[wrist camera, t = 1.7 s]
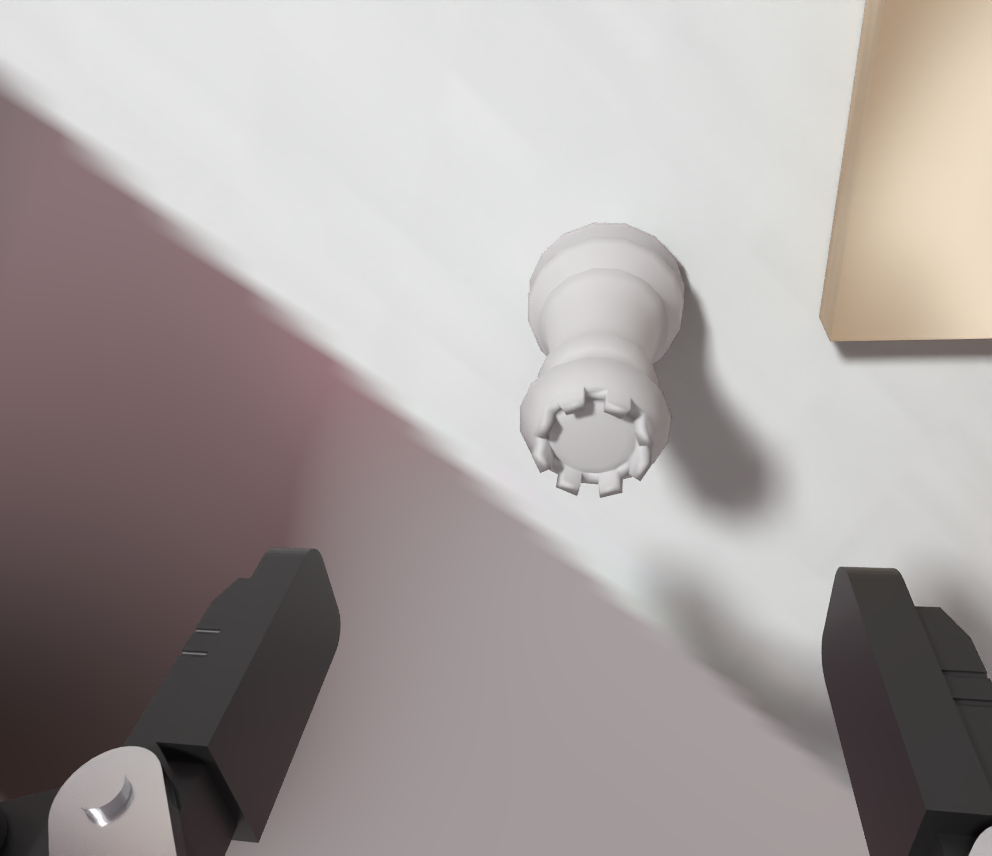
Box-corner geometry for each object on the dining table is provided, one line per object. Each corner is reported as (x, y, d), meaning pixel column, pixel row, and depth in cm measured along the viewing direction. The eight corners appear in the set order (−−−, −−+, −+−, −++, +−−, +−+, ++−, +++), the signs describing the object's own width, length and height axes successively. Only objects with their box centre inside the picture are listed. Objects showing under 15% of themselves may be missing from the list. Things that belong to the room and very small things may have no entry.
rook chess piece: (717, 275, 21) (753, 436, 14) (619, 383, 23) (611, 562, 17) (590, 183, 20) (566, 310, 14) (501, 305, 23) (446, 462, 16)
